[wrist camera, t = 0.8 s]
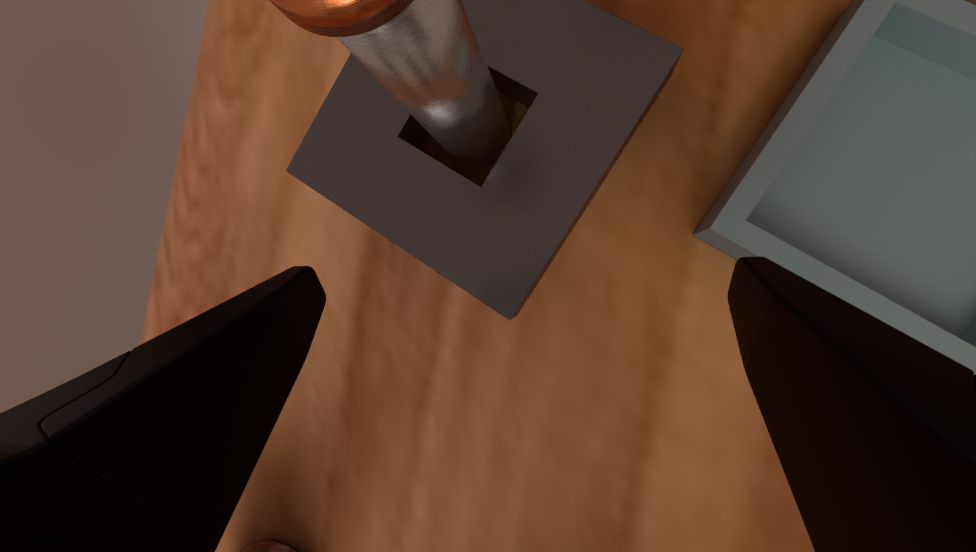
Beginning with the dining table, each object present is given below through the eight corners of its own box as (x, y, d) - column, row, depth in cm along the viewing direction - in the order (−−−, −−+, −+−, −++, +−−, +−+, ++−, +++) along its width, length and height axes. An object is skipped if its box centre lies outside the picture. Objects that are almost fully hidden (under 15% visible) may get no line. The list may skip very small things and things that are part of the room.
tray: (946, 379, 18) (1005, 395, 15) (692, 234, 20) (709, 228, 18) (1135, 135, 17) (1232, 110, 14) (845, 9, 19) (886, -32, 16)
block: (516, 315, 22) (509, 320, 19) (314, 182, 24) (285, 170, 22) (670, 76, 20) (683, 48, 18) (439, -40, 23) (423, -78, 20)
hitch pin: (490, 192, 22) (354, 47, 8) (421, 150, 23) (193, -46, 9) (537, 116, 22) (474, -171, 8) (464, 76, 22) (294, -247, 9)
